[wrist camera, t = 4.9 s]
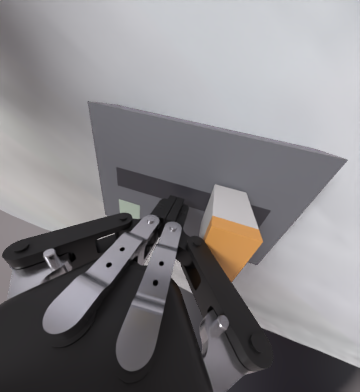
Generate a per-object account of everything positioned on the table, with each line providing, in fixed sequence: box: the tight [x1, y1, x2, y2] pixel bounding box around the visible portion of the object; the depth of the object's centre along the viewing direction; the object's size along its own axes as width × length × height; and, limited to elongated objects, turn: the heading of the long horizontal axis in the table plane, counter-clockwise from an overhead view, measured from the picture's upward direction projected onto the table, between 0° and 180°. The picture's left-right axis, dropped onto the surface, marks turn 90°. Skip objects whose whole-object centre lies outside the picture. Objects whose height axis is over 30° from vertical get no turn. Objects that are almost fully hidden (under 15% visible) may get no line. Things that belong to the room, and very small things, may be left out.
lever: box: [199, 184, 263, 282], centre depth 12 cm, size 3×5×6 cm, turn 171°
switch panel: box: [88, 101, 347, 265], centre depth 17 cm, size 22×14×4 cm, turn 81°
